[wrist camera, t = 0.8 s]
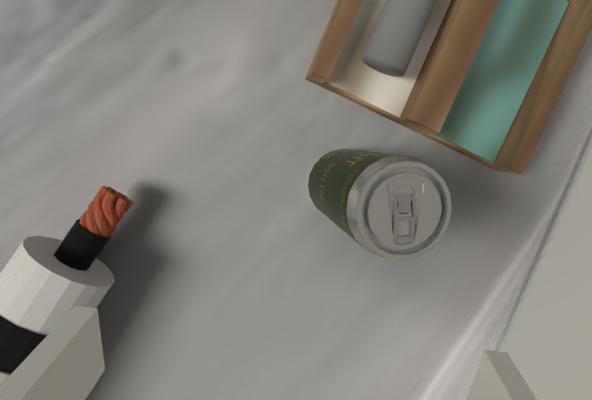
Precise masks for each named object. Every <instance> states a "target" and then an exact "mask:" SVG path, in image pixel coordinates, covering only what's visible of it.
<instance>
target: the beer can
mask: <svg viewBox="0 0 592 400" xmlns="http://www.w3.org/2000/svg"><path fill="white" fill-rule="evenodd" d="M308 188H309V193H310V197H311V199H312V201H313V203H314V205H315V206H316V207H317V208H318V209H319V210H320V211H321V212H322V213H323V214H325V215H326V216H327V217H328V218H329V219H330V220H332V221H333V222H334V223H335V224H336V225H338V226H339V227H340V228H341V229H342V230H343V231H345V232H346V233H347V234H348V235H349V236H350V237H352V238H353V239H354V240H355V241H356V242H357V243H359V244H360V245H361V246H362V247H363V248H364V249H366V250H367V251H369V252H371V253H373V254H376V255H378V256H380V257H387V258H389V259H400V260H406V259H410V258H414V257H418V256H420V255H422V254H424V253H425V252H427V251H429V250H430V249H432V248H433V247H434V246H435V245H436V244H437V243H438V241H439V240H440V239H441V238H442V237H443V235H444V233H445V231H446V229H447V227H448V225H449V222H450V217H451V212H452V204H451V195H450V192H449V190H448V187H447V185H446V183H445V181H444V179H443V178H442V177H441V176H440V175H439V174H438V173H437V172H436V171H435V170H434V169H432V168H430V167H429V166H428V165H427V164H425V163H423V162H421V161H419V160H418V159H416V158H414V157H407V156H400V155H391V154H381V153H371V152H362V151H352V150H337V151H331V152H330V153H328V154H326V155H324V156H323V157H321V158H320V159H319V160H318V162H317V163H316V164H315V165H314V167H313V169H312V171H311V173H310V176H309V183H308Z"/></svg>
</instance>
